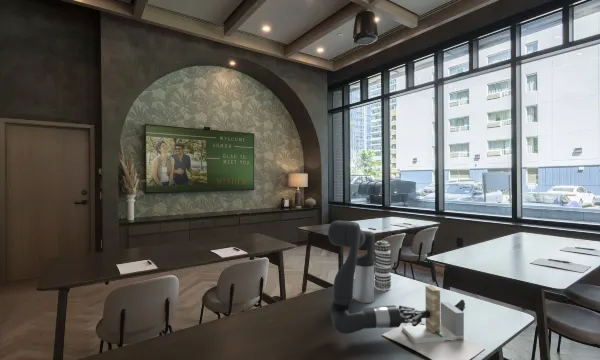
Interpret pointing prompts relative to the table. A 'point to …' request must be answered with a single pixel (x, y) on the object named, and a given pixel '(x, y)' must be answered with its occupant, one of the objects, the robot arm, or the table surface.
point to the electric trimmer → (460, 305)
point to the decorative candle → (382, 265)
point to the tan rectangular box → (433, 309)
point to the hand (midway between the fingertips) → (429, 313)
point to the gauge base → (448, 327)
